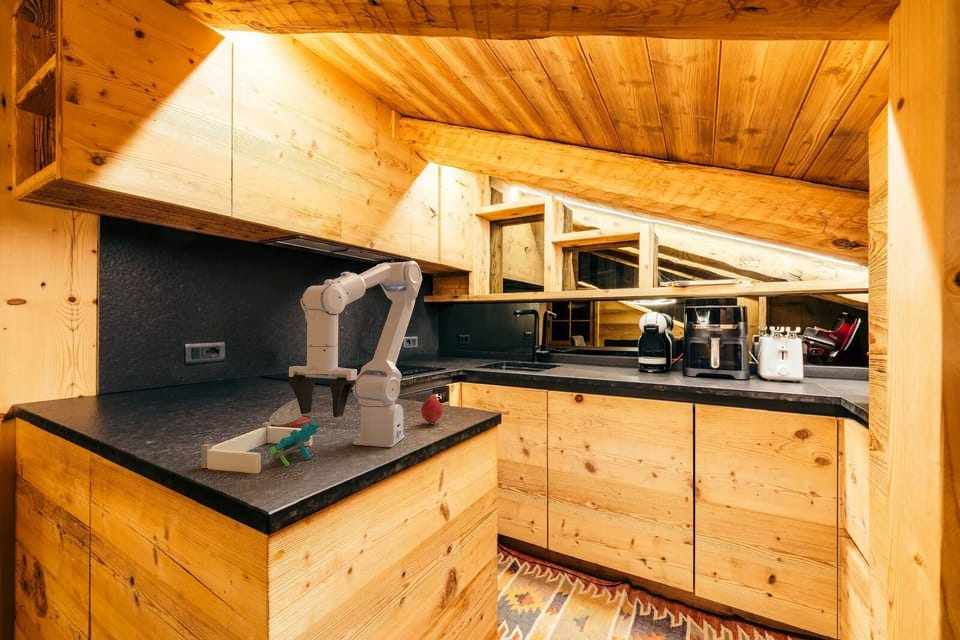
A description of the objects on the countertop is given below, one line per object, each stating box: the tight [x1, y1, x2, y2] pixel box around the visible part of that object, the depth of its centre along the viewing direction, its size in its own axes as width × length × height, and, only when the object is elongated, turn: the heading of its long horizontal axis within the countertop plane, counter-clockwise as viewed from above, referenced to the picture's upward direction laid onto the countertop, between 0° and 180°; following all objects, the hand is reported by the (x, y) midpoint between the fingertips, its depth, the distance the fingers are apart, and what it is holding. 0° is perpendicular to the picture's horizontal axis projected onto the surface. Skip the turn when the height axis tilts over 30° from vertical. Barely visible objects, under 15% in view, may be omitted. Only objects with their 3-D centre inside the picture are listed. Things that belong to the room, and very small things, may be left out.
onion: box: [420, 394, 444, 424], centre depth 109 cm, size 6×6×8 cm
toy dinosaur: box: [268, 421, 320, 468], centre depth 82 cm, size 11×6×10 cm
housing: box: [200, 421, 313, 475], centre depth 84 cm, size 12×17×4 cm
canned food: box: [268, 398, 312, 429], centre depth 102 cm, size 11×10×10 cm
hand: (321, 414), depth 79 cm, fingers open, 7 cm apart
